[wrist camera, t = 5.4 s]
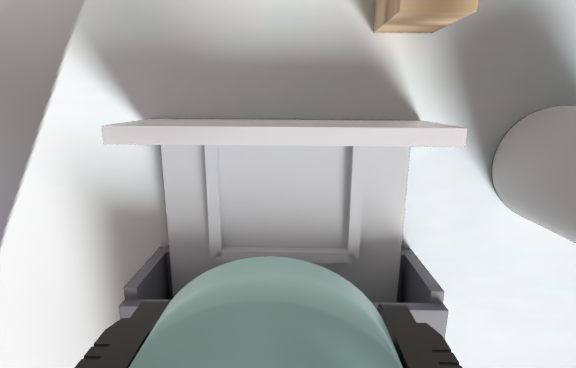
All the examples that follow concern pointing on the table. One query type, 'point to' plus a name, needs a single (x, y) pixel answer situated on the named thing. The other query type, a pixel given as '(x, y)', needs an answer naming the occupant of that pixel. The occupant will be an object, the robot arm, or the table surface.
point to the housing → (411, 291)
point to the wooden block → (420, 14)
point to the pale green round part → (269, 321)
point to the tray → (287, 191)
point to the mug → (540, 169)
